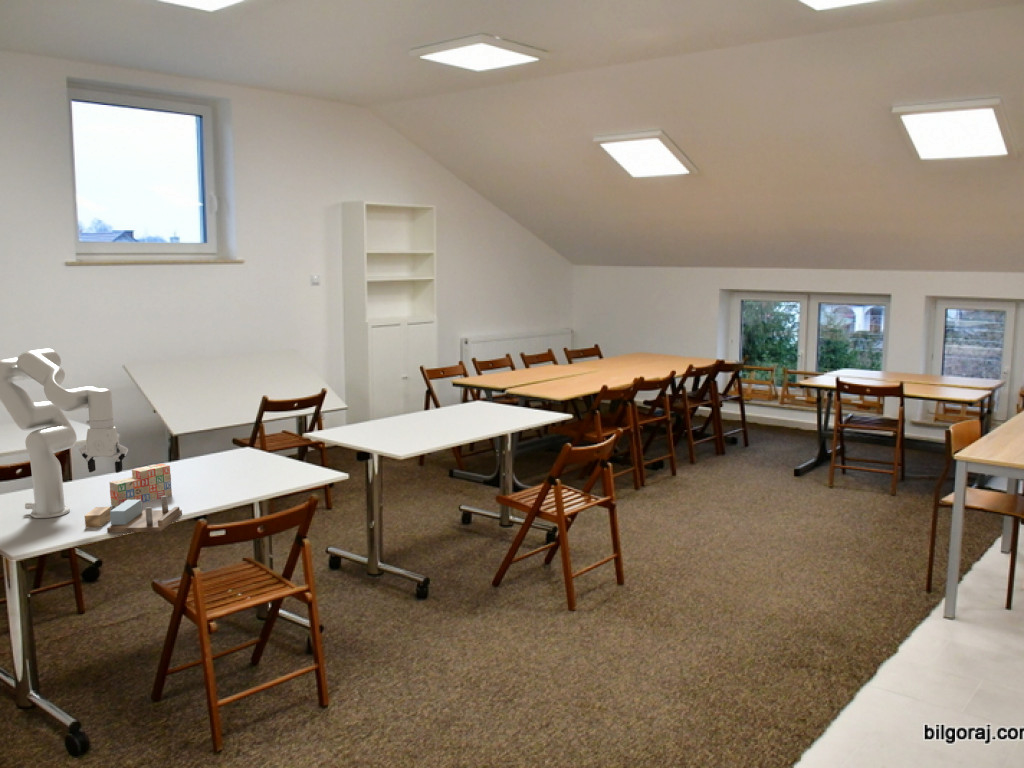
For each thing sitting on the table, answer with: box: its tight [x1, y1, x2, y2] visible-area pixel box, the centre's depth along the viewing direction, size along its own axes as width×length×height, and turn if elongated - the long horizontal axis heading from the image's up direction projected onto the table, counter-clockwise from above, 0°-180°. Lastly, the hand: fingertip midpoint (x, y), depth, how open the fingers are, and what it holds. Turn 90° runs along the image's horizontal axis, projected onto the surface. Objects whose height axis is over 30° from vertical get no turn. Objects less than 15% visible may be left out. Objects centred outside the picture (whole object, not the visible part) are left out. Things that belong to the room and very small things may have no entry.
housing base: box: [106, 496, 183, 533], centre depth 302 cm, size 18×20×8 cm
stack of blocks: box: [109, 463, 173, 508], centre depth 330 cm, size 21×6×12 cm, turn 141°
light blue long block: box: [110, 500, 143, 526], centre depth 302 cm, size 5×14×5 cm, turn 1°
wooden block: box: [84, 506, 112, 528], centre depth 303 cm, size 5×10×4 cm, turn 4°
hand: (105, 471), depth 302 cm, fingers open, 9 cm apart
